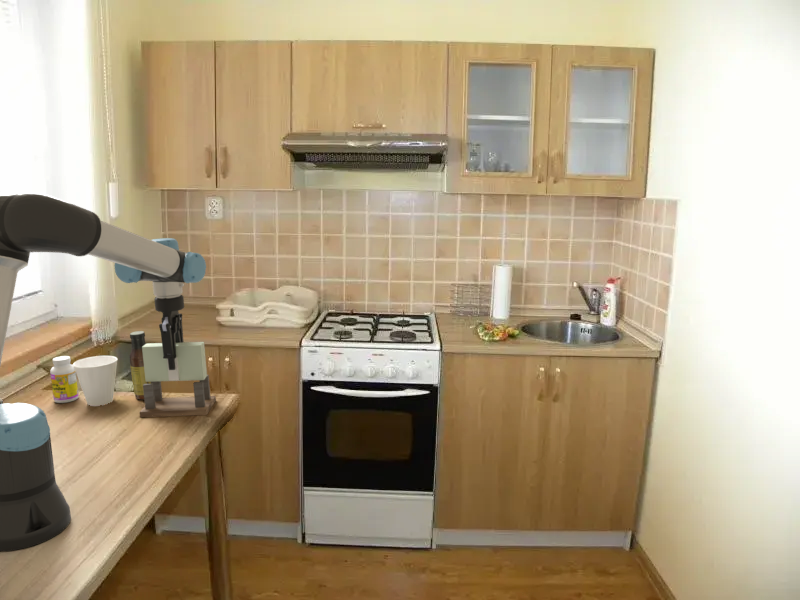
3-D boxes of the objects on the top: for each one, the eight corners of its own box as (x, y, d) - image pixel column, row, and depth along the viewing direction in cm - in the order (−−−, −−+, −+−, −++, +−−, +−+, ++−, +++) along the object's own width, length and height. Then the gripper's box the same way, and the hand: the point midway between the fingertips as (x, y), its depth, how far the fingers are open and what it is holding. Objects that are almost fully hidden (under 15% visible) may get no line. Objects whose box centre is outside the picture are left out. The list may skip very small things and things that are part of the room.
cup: (112, 392, 199) (107, 353, 197) (129, 401, 191) (124, 360, 189) (71, 402, 191) (66, 362, 189) (87, 412, 183) (82, 370, 180)
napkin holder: (206, 414, 179) (204, 385, 178) (140, 417, 179) (136, 387, 177) (215, 400, 190) (213, 372, 188) (153, 402, 189) (150, 374, 188)
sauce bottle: (152, 391, 199) (146, 328, 195) (160, 397, 194) (153, 332, 190) (130, 396, 195) (123, 332, 191) (137, 402, 190) (130, 336, 186)
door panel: (203, 380, 181) (200, 345, 179) (145, 381, 181) (141, 346, 179) (207, 376, 185) (204, 341, 183) (150, 377, 184) (146, 343, 182)
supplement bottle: (48, 402, 192) (43, 360, 189) (66, 395, 198) (61, 354, 195) (66, 404, 189) (61, 362, 187) (84, 397, 196) (79, 355, 193)
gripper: (173, 301, 170) (181, 387, 175) (190, 289, 186) (197, 368, 191) (144, 302, 170) (153, 388, 174) (164, 290, 186) (171, 369, 191)
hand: (176, 377), depth 183 cm, fingers closed on door panel, 4 cm apart
